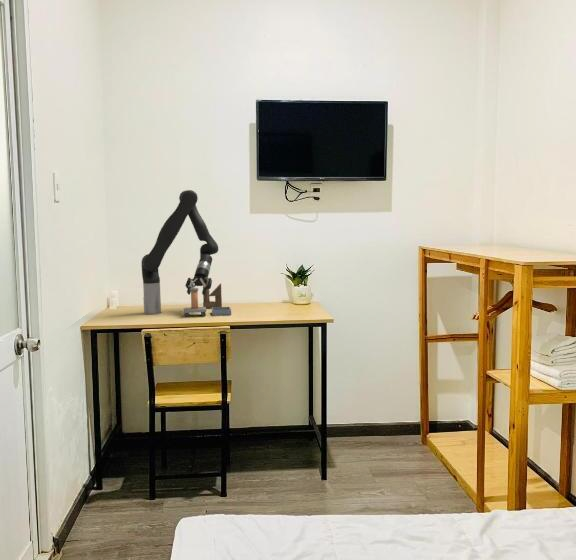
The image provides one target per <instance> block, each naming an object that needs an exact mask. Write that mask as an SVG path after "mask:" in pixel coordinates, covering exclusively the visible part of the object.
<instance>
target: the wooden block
mask: <svg viewBox="0 0 576 560" xmlns="http://www.w3.org/2000/svg"><path fill="white" fill-rule="evenodd" d="M209 278H210V277H208V279H209ZM205 285H206V286H207V285H208V281H207V282H206V283H205ZM203 287H204V286H202V288H203ZM222 296H223V295H222V283H219V284H218V285H217V287H215V288H214V290H212V291H211V293H210V289H207V290H206V294H204V295H203V294H202V297H203V298H202V299H203V302H202V304H203V305H202V307H206V309H212V307H223V305H222V303H223V302H222V301H223V300H222V299H223V298H222ZM210 297H214V299H215V300H214V301H212V300H211V299H210Z"/></svg>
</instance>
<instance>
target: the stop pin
mask: <svg viewBox="0 0 576 560" xmlns="http://www.w3.org/2000/svg"><path fill="white" fill-rule="evenodd" d="M190 291H191V293H190V300H191V301H190V302H191V309H198V307H199V299H198V298H199V297H198V296H199V295H198V294H199V293H198V292H199V287H193V288H190Z"/></svg>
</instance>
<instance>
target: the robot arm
mask: <svg viewBox="0 0 576 560" xmlns="http://www.w3.org/2000/svg"><path fill="white" fill-rule="evenodd" d="M198 199H199V198H198V194H197V192H196V191H194V190H192V189H186V190H182V191H181V192H180V194H179V197H178V200H179V203H178V205H177V207H176V208H175V210H174V211H173V212H172V213H171V215H169V217H168V218H167V219H166V220H165V222H164V223H163V225H162V226H161V228H160V230H159V233H158V234H157V238H156V240H155V243H154V246H153V247H152V249H151V250H150V251H149V253H148V254H145V255H144V256H143V257H142V259H141V263H140V264H141V276H142V286H143V299H142V300H143V314H144V315H145V314H147V315H155V314H160V313H162V303H161V300H162V299H161V277H160V274H159V267H160V266H161V264H162V261H163V259H164V257H165V255H166V253H167V251H168V249H169V248H170V247H171V245H172V244H173V242H174V241H175V239H176V237H177V235H178V234H179V232H180V230H181V229H182V227H183V225H184V224H185V221H186V219H187V217H189V220H190V222H191V225H192V226H193V229H194V231H195V234H196V237H197V239H198V240H199V241H200V242H206V243H204V244H202V245H201V246H200V248H199V253H200V255H199V261H198V264H197V266H196V269H195V272H194V276H193V278H191V277H188V278H187V281H186V282H185V285H184V286H185V287H186V289H187V290H186V293H187V294H188V295H190V296H191V291H190V288H196V287H202V291H201V294H202V296H203V295H204V294H206V290H207V289H209V290H210V289H211V288H212V283H213V280H212V278H211V277H209V275H210V272H211V265H212V264H213V263H212V262H213V256H212V255H216V254H218V252H219V245H218V243H217V242H216V240H215V239H214V238H213V237H212V235H211V234H210V232H209V229H208V227H207V225H206V222H205V221H204V219H203V218H202V216H201V214H200V213H199V210H198V207H197V205H196V204H197V202H198ZM208 278H209V279H208ZM207 281H208V285H207V286H206V285H205V283H206V282H207ZM203 286H204V287H203Z"/></svg>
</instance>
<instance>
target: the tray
mask: <svg viewBox="0 0 576 560" xmlns="http://www.w3.org/2000/svg"><path fill="white" fill-rule="evenodd" d="M211 314H212V315H222V316H232V309H231V307H230V306H222V307H212V308H211Z"/></svg>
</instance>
